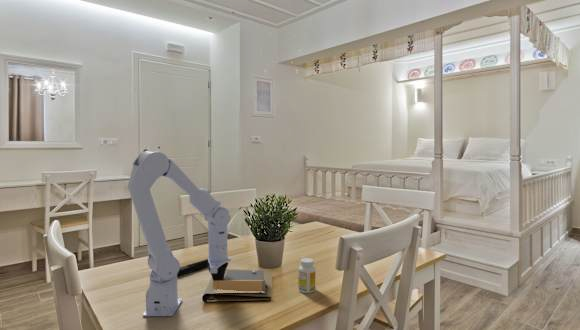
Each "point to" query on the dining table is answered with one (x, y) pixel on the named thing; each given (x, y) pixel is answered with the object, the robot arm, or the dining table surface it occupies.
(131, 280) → the dining table surface
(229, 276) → the camera body
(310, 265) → the supplement bottle
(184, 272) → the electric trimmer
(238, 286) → the side door
